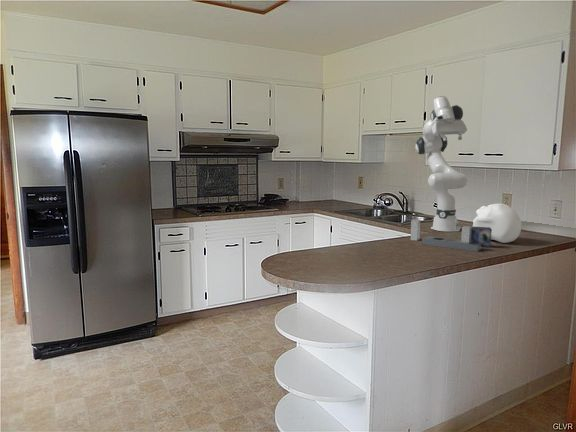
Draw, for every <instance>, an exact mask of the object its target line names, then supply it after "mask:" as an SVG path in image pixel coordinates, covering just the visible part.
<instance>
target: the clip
mask: <svg viewBox="0 0 576 432" xmlns="http://www.w3.org/2000/svg"><path fill="white" fill-rule="evenodd" d="M410 220H411V221H410V241H420V237H421V219H410Z"/></svg>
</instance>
